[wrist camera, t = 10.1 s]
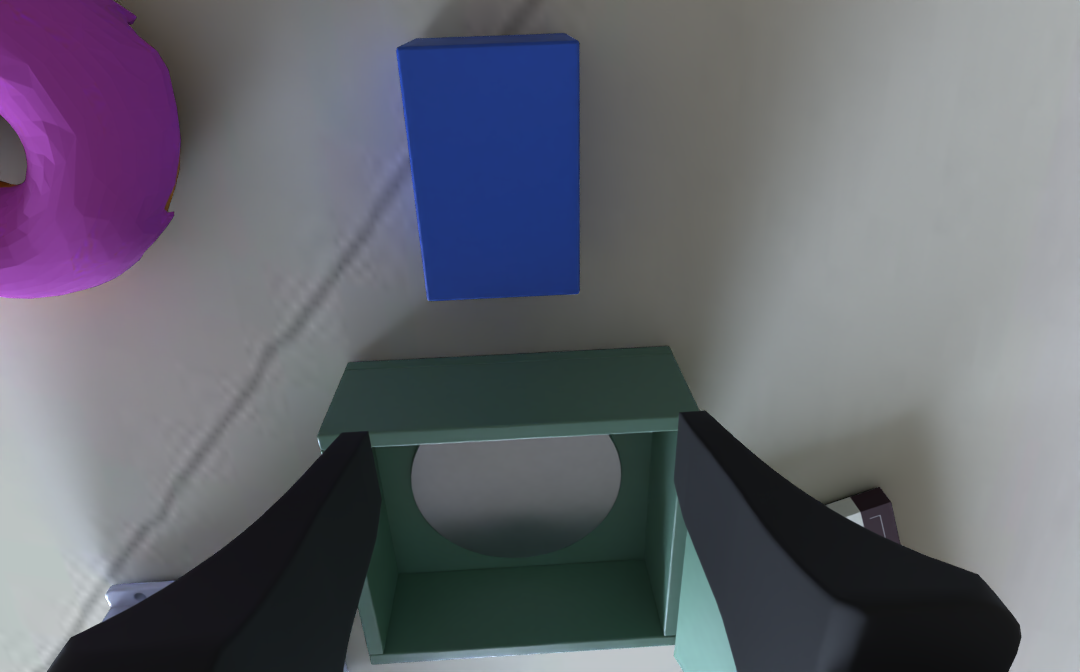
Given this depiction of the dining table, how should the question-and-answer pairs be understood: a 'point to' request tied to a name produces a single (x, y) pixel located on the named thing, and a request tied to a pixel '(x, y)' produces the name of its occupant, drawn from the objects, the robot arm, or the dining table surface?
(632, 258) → the dining table surface
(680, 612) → the lid
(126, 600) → the robot arm
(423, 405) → the box
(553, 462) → the plate
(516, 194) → the block
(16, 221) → the donut
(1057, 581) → the dining table surface
